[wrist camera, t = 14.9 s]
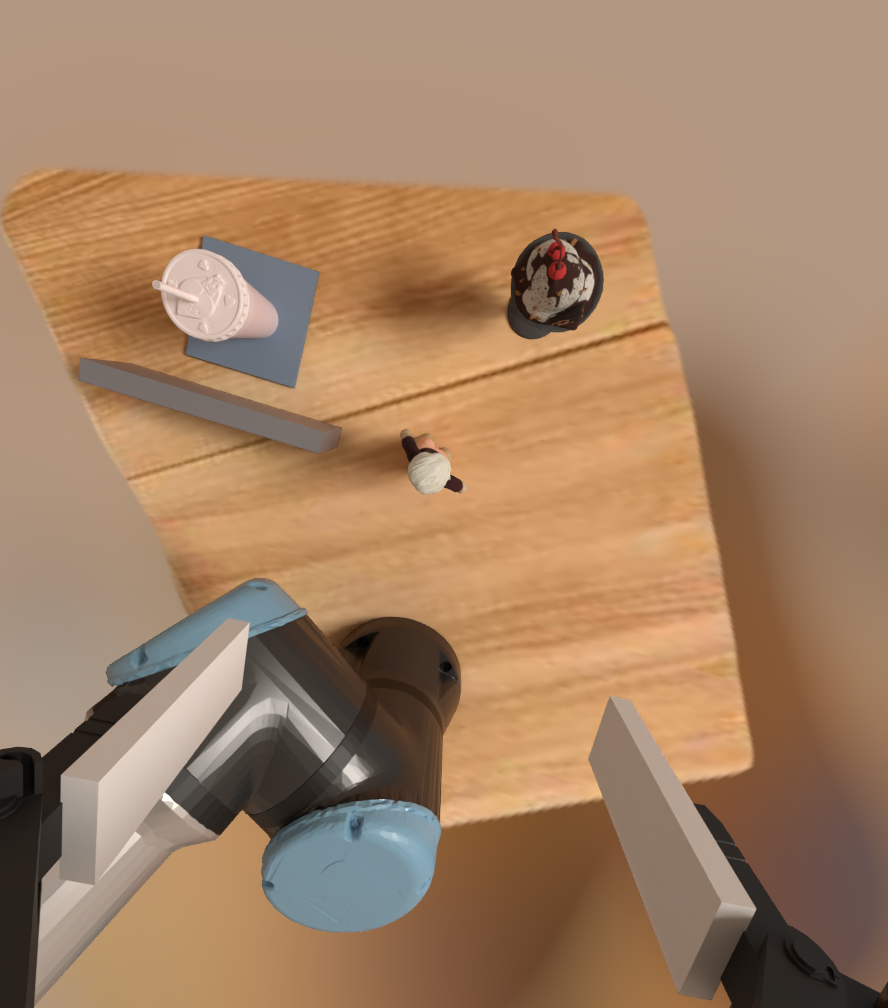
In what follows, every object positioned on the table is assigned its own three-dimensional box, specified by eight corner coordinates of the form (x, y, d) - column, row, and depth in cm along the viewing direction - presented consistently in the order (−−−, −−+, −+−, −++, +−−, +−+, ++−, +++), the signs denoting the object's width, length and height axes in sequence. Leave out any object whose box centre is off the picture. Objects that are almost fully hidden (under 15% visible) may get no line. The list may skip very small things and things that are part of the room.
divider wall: (337, 446, 45) (318, 453, 39) (128, 383, 44) (78, 380, 38) (341, 427, 44) (323, 432, 38) (131, 363, 43) (80, 357, 38)
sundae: (513, 262, 40) (543, 183, 25) (580, 288, 40) (648, 223, 26) (487, 333, 42) (502, 297, 27) (552, 358, 42) (602, 334, 27)
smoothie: (213, 308, 42) (93, 265, 28) (264, 267, 40) (165, 201, 27) (255, 366, 43) (160, 351, 29) (305, 327, 42) (231, 293, 28)
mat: (294, 387, 43) (293, 387, 43) (188, 354, 43) (185, 354, 43) (319, 272, 41) (317, 271, 40) (206, 236, 40) (203, 235, 40)
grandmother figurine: (393, 452, 45) (368, 472, 32) (412, 420, 44) (394, 428, 31) (456, 491, 45) (455, 525, 33) (476, 460, 44) (483, 483, 32)
